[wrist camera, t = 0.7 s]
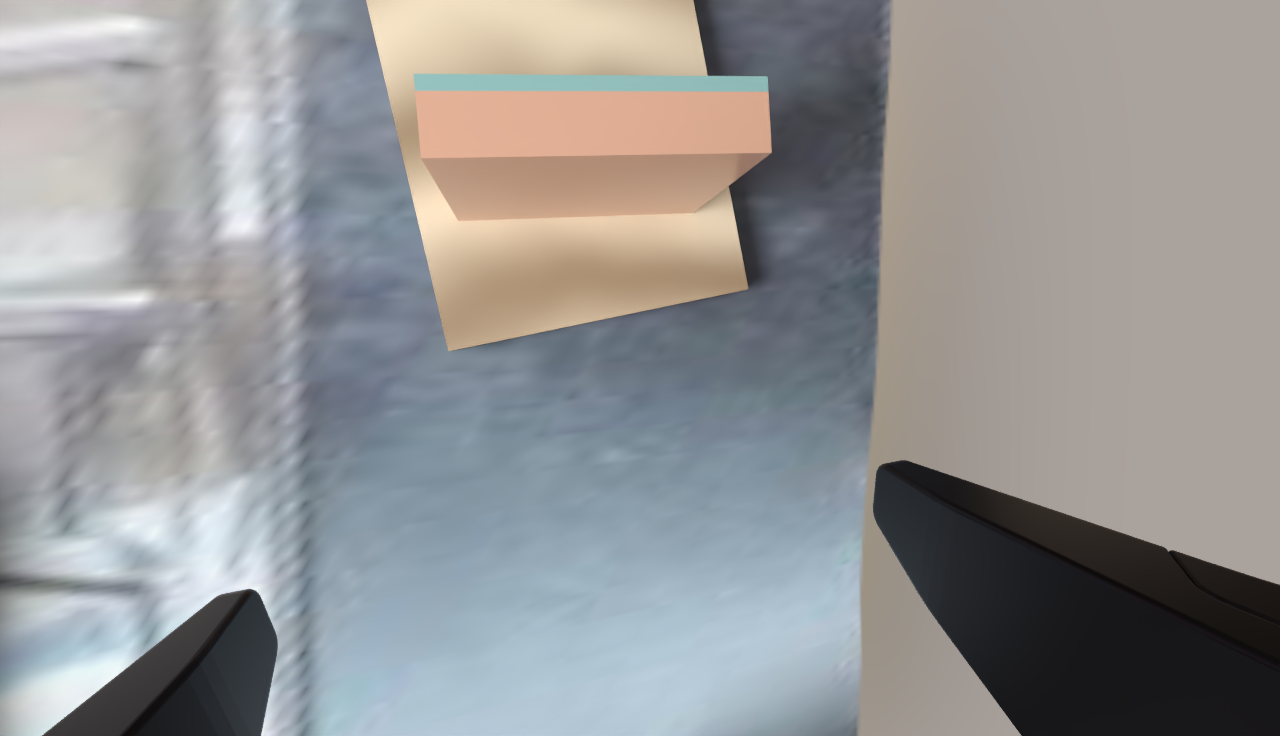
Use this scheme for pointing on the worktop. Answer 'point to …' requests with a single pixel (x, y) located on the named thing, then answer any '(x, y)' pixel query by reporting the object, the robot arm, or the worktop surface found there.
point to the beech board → (551, 247)
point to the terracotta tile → (588, 141)
